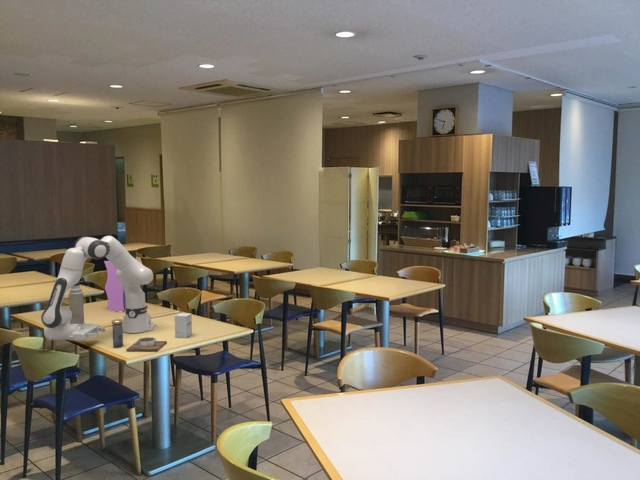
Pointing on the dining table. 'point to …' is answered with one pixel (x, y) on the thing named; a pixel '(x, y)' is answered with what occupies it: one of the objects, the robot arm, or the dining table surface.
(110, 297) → the container
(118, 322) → the dark grey canister
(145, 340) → the steel collar
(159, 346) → the mount plate
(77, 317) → the thermos bottle
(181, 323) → the supplement box
